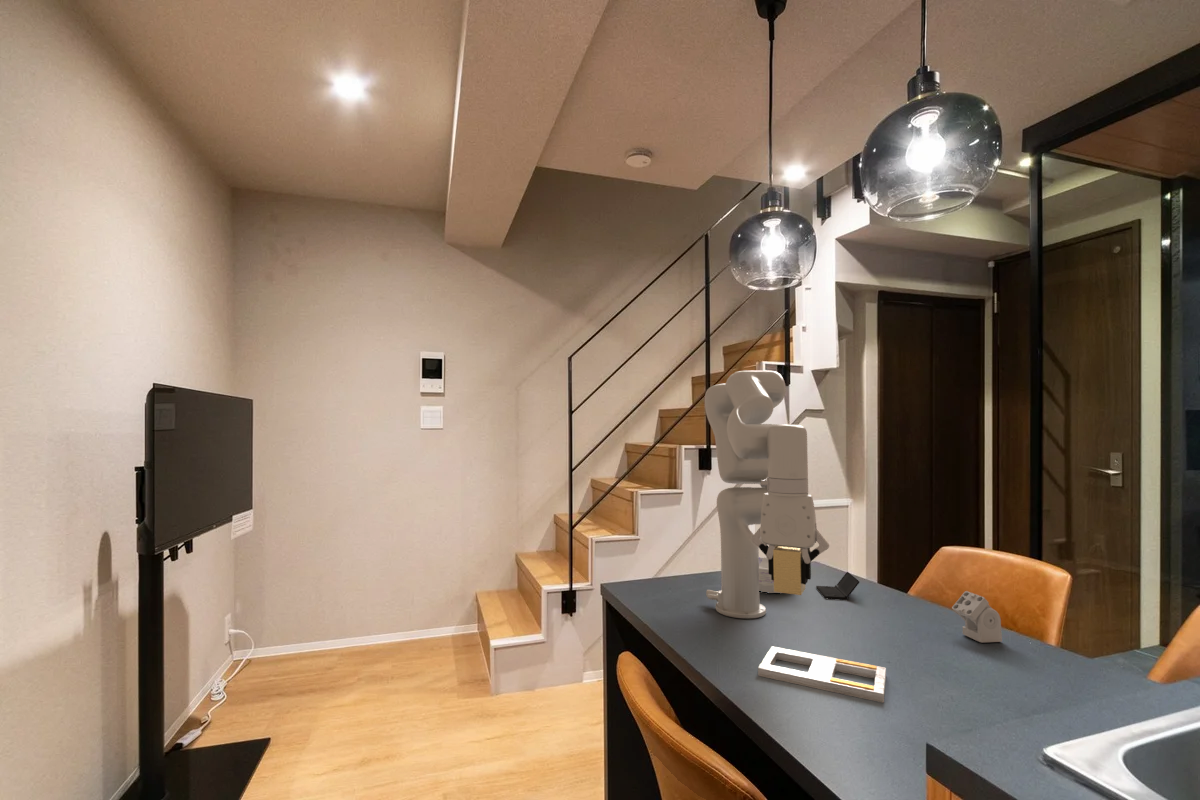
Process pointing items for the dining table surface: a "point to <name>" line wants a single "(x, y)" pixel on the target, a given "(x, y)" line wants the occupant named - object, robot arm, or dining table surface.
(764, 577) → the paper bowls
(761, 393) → the robot arm
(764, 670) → the white flat frame
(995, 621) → the mechanical component
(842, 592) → the handheld gaming console
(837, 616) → the dining table surface
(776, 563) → the brass block
